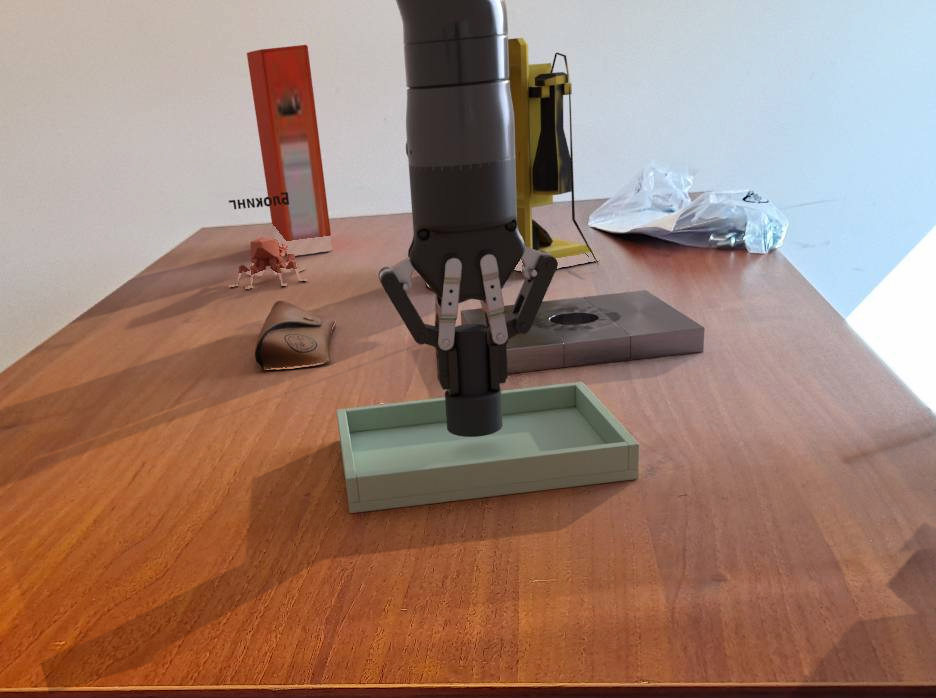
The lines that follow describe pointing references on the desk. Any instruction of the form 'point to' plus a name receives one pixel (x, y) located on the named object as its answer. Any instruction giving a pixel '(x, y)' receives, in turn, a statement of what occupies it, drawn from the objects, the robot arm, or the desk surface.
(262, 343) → the sunglasses case
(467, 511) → the desk surface
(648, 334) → the plate
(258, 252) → the beetle
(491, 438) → the tray
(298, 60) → the file binder
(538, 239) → the vintage telephone
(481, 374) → the plug
